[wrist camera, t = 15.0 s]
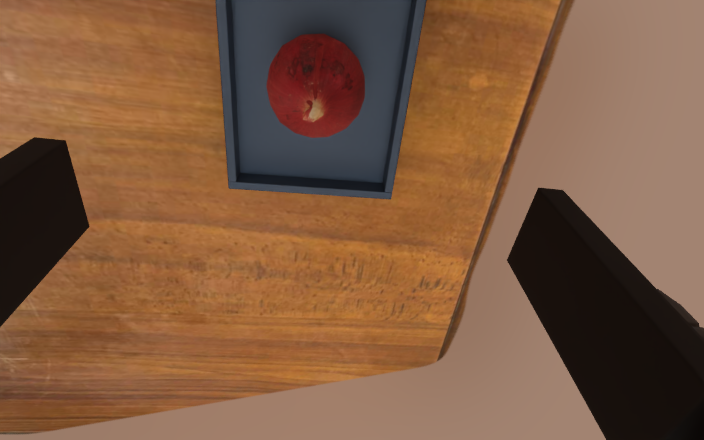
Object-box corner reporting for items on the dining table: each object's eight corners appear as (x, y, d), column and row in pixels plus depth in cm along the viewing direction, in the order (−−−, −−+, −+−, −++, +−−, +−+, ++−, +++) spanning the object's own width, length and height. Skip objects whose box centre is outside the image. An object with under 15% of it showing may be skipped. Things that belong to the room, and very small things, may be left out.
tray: (217, -102, 22) (207, -107, 21) (432, -74, 24) (440, -76, 22) (234, 175, 32) (228, 188, 30) (387, 186, 33) (391, 199, 31)
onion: (268, 28, 26) (245, 53, 19) (359, 21, 26) (369, 45, 19) (281, 117, 29) (266, 166, 22) (362, 112, 29) (372, 159, 22)
